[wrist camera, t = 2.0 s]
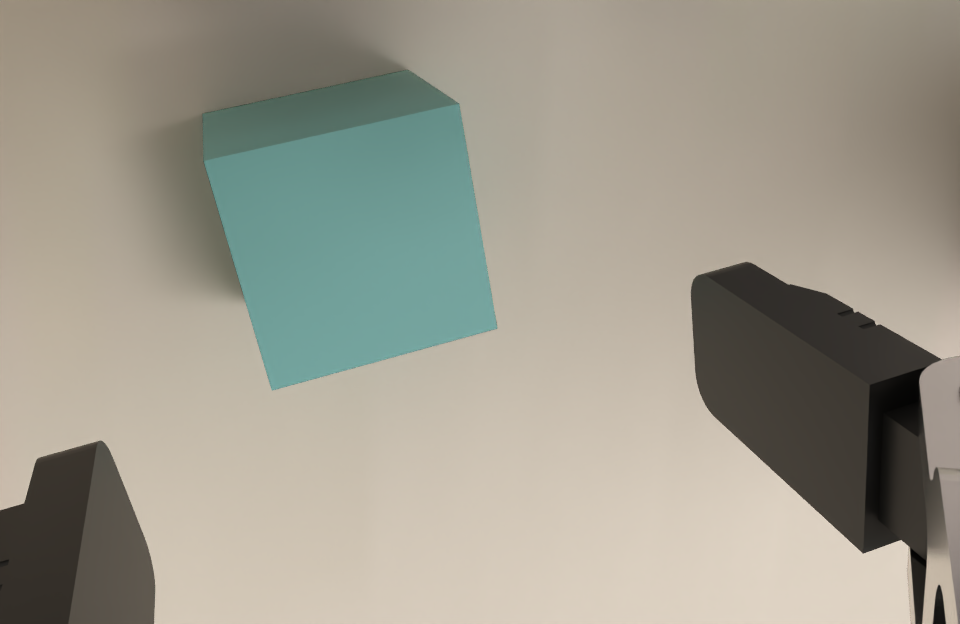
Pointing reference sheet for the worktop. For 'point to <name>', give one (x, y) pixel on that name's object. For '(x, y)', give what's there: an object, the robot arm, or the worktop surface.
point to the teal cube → (350, 223)
